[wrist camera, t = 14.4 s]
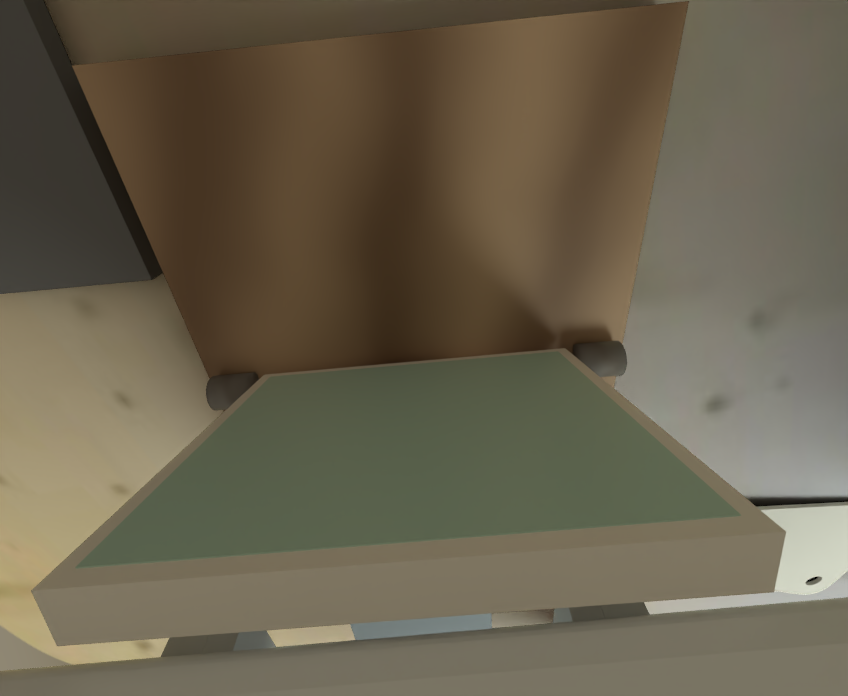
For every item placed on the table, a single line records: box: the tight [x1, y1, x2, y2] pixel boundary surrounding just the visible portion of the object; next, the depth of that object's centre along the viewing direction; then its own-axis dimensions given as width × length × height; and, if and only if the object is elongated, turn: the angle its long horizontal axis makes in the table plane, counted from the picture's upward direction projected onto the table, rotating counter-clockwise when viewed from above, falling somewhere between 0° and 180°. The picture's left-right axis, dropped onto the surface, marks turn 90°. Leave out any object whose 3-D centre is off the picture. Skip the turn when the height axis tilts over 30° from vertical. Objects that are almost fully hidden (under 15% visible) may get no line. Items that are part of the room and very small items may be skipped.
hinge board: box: [72, 1, 689, 411], centre depth 15 cm, size 17×16×3 cm
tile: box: [31, 348, 786, 646], centre depth 11 cm, size 12×10×1 cm
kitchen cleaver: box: [757, 502, 848, 595], centre depth 26 cm, size 31×2×10 cm
